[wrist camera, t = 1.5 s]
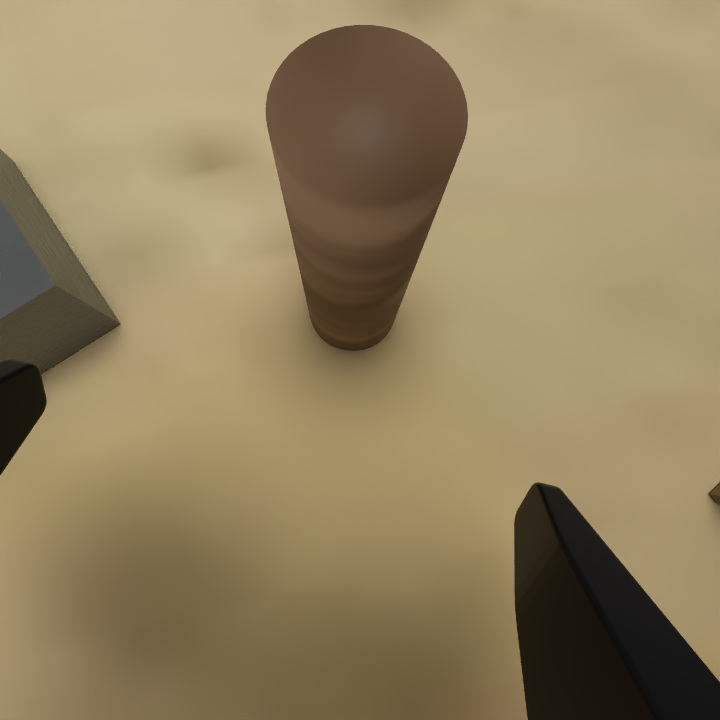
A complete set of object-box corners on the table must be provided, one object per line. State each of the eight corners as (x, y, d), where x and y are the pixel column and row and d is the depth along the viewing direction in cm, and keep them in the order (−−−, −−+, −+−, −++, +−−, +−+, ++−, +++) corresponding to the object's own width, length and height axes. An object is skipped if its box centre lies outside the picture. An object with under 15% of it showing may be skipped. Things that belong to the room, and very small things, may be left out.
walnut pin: (342, 367, 22) (344, 241, 9) (292, 298, 22) (226, 86, 9) (412, 318, 22) (508, 133, 9) (361, 252, 23) (388, -7, 10)
